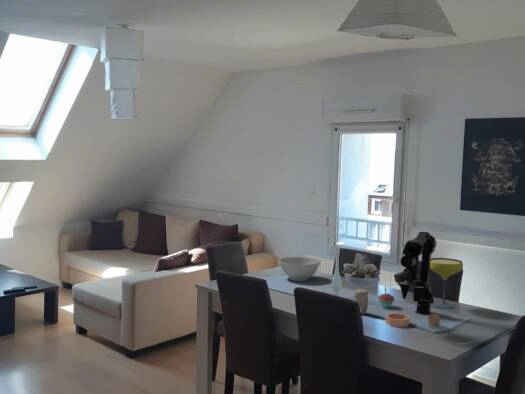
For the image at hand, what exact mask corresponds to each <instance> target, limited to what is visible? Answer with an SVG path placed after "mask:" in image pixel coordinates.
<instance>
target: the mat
mask: <svg viewBox="0 0 525 394" xmlns="http://www.w3.org/2000/svg"><path fill="white" fill-rule="evenodd" d="M411 326H412V327H415V328H417V329H420V330H422V331H425V332H427V333H429V334H432V335H436V334H442V333H448V332H452V331H453V332H454V331H458V329H457V328H454V330H449V331H443V332H438V333H432V332H429V331H427V330H424V329H422V328H420V327H417V326H415V325H414V323H413V324H411Z"/></svg>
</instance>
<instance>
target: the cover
mask: <svg viewBox="0 0 525 394" xmlns="http://www.w3.org/2000/svg"><path fill="white" fill-rule="evenodd" d="M413 324H414V325H415V326H417V327H420V328H422V329H424V330H427V331H429V332H432V333H438V332H443V331H449V330H454V329H455V327H453V326H451V325H448V324H446V323H442V322H441V316H440V315H439V314H436V313H432V314H428V321H427V320H426V321H422V322H415V323H413ZM415 326H414V327H415ZM417 327H416V328H417ZM420 328H419V329H420ZM422 329H421V330H422ZM424 330H423V331H424ZM427 331H426V332H427ZM454 331H455V330H454ZM429 332H428V333H429ZM449 332H450V331H449ZM432 333H431V334H432ZM443 333H444V332H443ZM438 334H439V333H438Z"/></svg>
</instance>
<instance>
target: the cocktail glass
mask: <svg viewBox="0 0 525 394" xmlns="http://www.w3.org/2000/svg"><path fill="white" fill-rule="evenodd" d="M463 267H464V264H463V261H462V260H459V259H455V258H449V257H447V258H445V257H433V258H432V257H431V261H430V270H431V271H432V272H433V273H436V274H437V275H439V276H440V277H441V279H442V280H443V292H442V293H443V297H442V302H435V303H432V304H433V307H435V308H438V309H444V310H445V309H446V310H447V309H449V310H451V309H454V308H455V306H454V305H453V304H450V303H447V302H446V298H445V297H446V295H445V293H446V280H448V278H449V277H450V276H453V275H456V274H457V273H459V272H462V270H463Z"/></svg>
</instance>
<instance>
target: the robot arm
mask: <svg viewBox="0 0 525 394" xmlns="http://www.w3.org/2000/svg"><path fill="white" fill-rule="evenodd" d="M436 247H437V239H436V238H435V237H434V236H433V235H431V233H430V232H427V231H420V232H418V235H416V237H415V238H414V239H410V240H407V241H406V243H405V244H404V248H403V250H402V255H403V256H402V257H401V258H400V259H399V260H400V265H401V266H402V267H403V269H402V270H403V271H401V272H398V273H395V274H393V277H394V282H395V283H396V285H398V286H399V288H400V291H401V295H402V299H403V300H405V299H406V298H407V295H408V292H409V289H410V288H411V290H412V293H413V295H412V297H413V299H412V300H413V302H416V310H414V313H415V314H420V315H423V316H425V315H431V314H433V313H432V312H431V304H435V303H434V301H435V300H434V295H433V292H432V287H431V285H430V282H429V281H430V272H431V271H430V270H431V269H430V261H431V259H432V255H433V254H434V252H435V251H436V250H435V249H436ZM420 256H421V259H420ZM420 260H421V261H420ZM419 261H420V263H421V264H420V270H419ZM418 273H419V274H420V275H419V274H418ZM418 275H419V278H418ZM410 286H411V287H410Z"/></svg>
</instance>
